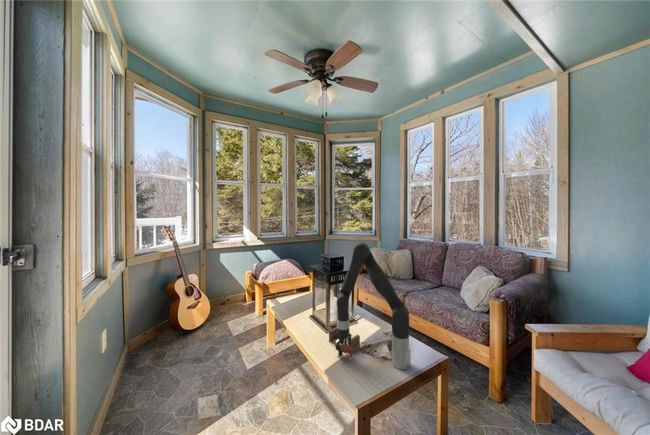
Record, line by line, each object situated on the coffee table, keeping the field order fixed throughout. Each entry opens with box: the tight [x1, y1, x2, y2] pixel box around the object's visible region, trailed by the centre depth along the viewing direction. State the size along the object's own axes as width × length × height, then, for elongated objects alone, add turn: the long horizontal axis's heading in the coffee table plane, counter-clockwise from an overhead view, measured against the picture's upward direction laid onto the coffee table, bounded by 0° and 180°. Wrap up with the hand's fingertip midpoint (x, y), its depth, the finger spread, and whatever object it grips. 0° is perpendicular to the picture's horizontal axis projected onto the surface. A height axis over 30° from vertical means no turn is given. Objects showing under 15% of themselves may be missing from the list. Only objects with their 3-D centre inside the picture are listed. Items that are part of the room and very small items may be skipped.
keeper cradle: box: [328, 326, 361, 351], centre depth 165 cm, size 19×9×7 cm, turn 46°
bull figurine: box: [334, 343, 355, 361], centre depth 151 cm, size 4×13×8 cm, turn 59°
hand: (343, 353), depth 151 cm, fingers closed on bull figurine, 5 cm apart
